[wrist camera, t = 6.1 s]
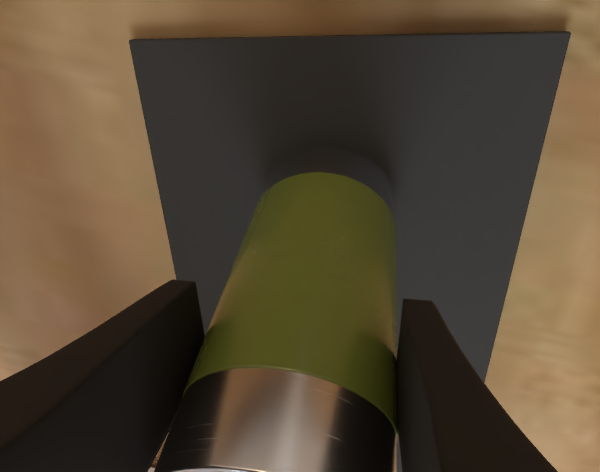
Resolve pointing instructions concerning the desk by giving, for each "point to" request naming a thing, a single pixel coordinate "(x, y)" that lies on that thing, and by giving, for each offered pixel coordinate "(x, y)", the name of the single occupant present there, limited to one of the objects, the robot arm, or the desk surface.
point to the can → (301, 331)
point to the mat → (359, 149)
